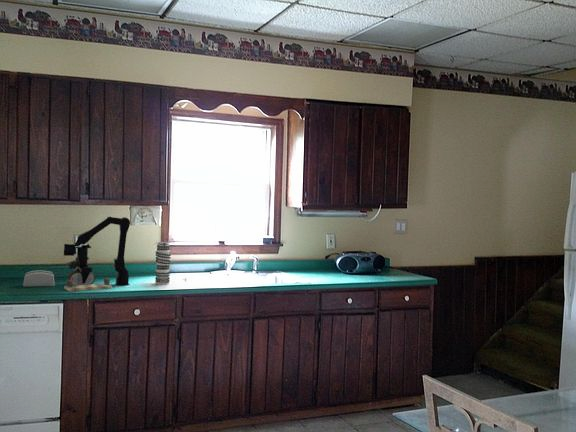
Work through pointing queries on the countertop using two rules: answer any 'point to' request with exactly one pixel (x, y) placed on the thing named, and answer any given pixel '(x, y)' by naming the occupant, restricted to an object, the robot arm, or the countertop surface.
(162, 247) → the decorative candle
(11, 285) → the countertop surface
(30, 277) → the grey arched block
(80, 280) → the tin
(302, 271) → the countertop surface
